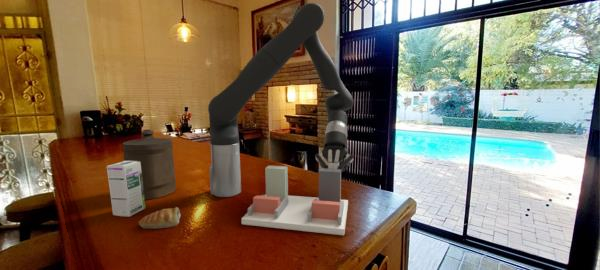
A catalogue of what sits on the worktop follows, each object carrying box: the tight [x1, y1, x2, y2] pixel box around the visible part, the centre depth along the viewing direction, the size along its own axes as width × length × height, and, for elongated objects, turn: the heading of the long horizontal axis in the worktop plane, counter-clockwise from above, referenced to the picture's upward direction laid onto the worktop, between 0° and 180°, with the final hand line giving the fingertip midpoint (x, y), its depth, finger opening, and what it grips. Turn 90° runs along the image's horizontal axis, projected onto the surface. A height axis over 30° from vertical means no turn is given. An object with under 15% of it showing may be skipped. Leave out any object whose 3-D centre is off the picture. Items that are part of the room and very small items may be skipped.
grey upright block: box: [318, 167, 342, 203], centre depth 74 cm, size 6×3×10 cm, turn 77°
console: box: [241, 194, 349, 236], centre depth 71 cm, size 26×18×6 cm
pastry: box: [138, 206, 182, 230], centre depth 67 cm, size 9×7×4 cm
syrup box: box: [106, 160, 147, 218], centre depth 73 cm, size 6×6×14 cm
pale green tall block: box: [264, 165, 289, 202], centre depth 77 cm, size 6×3×10 cm, turn 77°
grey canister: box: [122, 129, 177, 201], centre depth 88 cm, size 15×15×22 cm
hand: (331, 182), depth 79 cm, fingers closed
